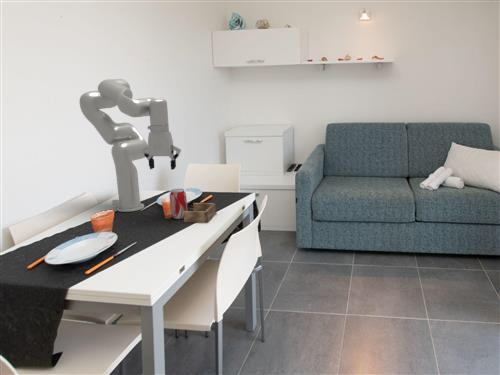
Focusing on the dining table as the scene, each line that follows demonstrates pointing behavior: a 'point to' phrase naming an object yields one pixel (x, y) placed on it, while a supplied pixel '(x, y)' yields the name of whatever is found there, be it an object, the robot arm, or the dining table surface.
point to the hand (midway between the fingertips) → (162, 168)
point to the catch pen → (200, 213)
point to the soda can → (178, 203)
